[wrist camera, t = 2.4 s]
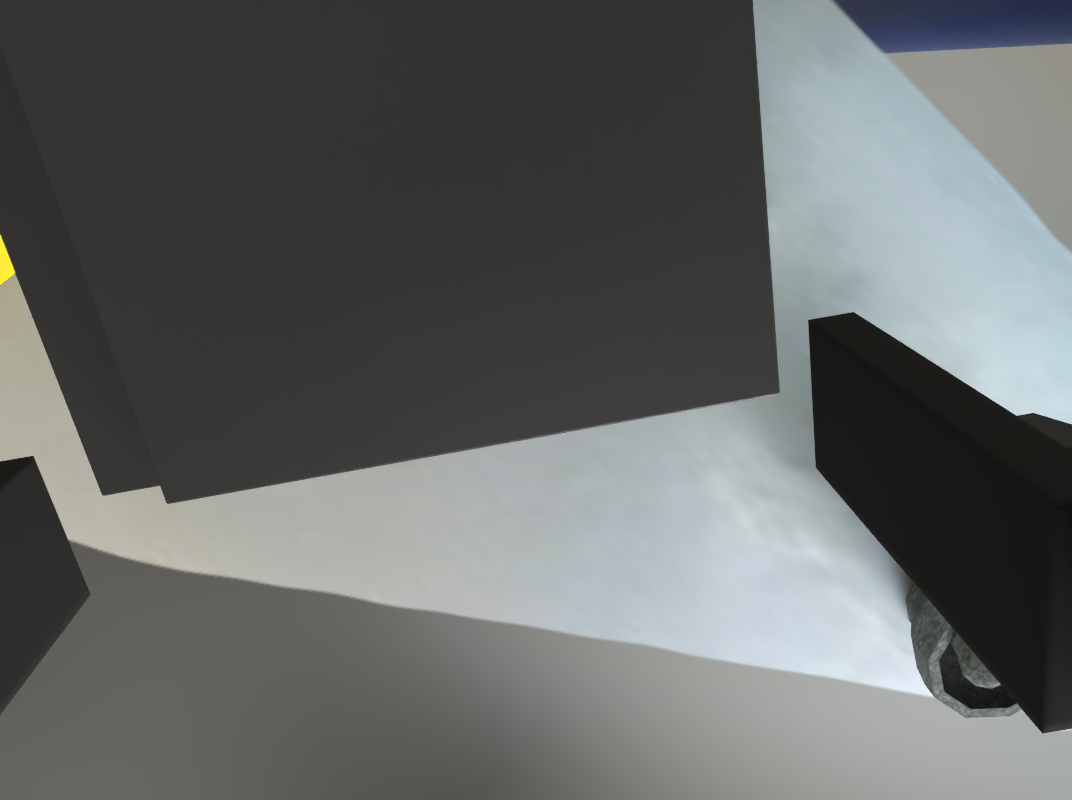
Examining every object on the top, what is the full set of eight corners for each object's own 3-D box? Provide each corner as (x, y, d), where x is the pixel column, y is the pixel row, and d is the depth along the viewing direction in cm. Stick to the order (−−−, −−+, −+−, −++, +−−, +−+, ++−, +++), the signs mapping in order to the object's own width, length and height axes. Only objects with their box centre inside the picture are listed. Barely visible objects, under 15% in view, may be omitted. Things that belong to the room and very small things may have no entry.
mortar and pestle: (1040, 585, 63) (1162, 696, 51) (948, 674, 65) (1046, 799, 54) (933, 506, 60) (1039, 606, 48) (841, 602, 62) (921, 719, 51)
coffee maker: (590, -28, 47) (742, -165, 20) (623, 229, 52) (780, 394, 25) (188, 44, 46) (-199, 3, 20) (260, 294, 52) (29, 529, 25)
